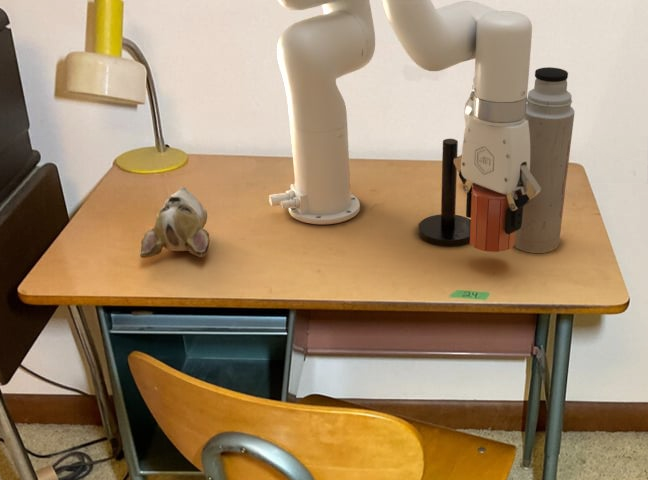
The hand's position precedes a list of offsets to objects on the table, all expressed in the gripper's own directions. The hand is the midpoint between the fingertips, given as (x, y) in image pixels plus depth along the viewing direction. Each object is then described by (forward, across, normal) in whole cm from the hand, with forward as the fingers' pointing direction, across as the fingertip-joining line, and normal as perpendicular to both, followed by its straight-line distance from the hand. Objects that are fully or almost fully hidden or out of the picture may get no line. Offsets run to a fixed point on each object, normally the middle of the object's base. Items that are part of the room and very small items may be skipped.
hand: (493, 222), depth 131 cm
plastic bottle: (+8, -22, +22) cm, 32 cm away
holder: (+8, -13, +4) cm, 15 cm away
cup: (+3, 0, 0) cm, 3 cm away
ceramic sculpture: (+7, -39, -32) cm, 51 cm away
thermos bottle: (+8, 0, +12) cm, 14 cm away
